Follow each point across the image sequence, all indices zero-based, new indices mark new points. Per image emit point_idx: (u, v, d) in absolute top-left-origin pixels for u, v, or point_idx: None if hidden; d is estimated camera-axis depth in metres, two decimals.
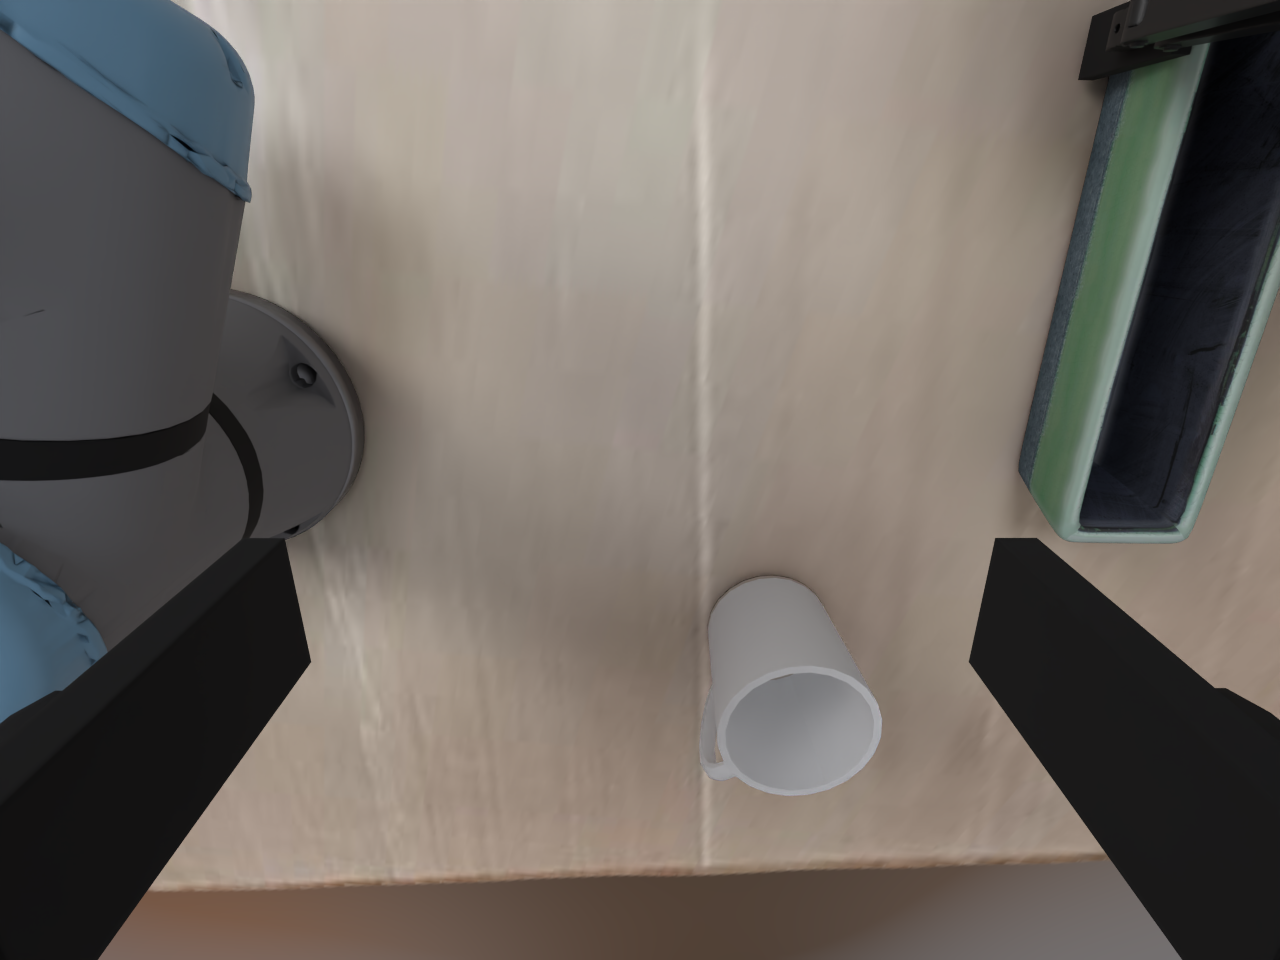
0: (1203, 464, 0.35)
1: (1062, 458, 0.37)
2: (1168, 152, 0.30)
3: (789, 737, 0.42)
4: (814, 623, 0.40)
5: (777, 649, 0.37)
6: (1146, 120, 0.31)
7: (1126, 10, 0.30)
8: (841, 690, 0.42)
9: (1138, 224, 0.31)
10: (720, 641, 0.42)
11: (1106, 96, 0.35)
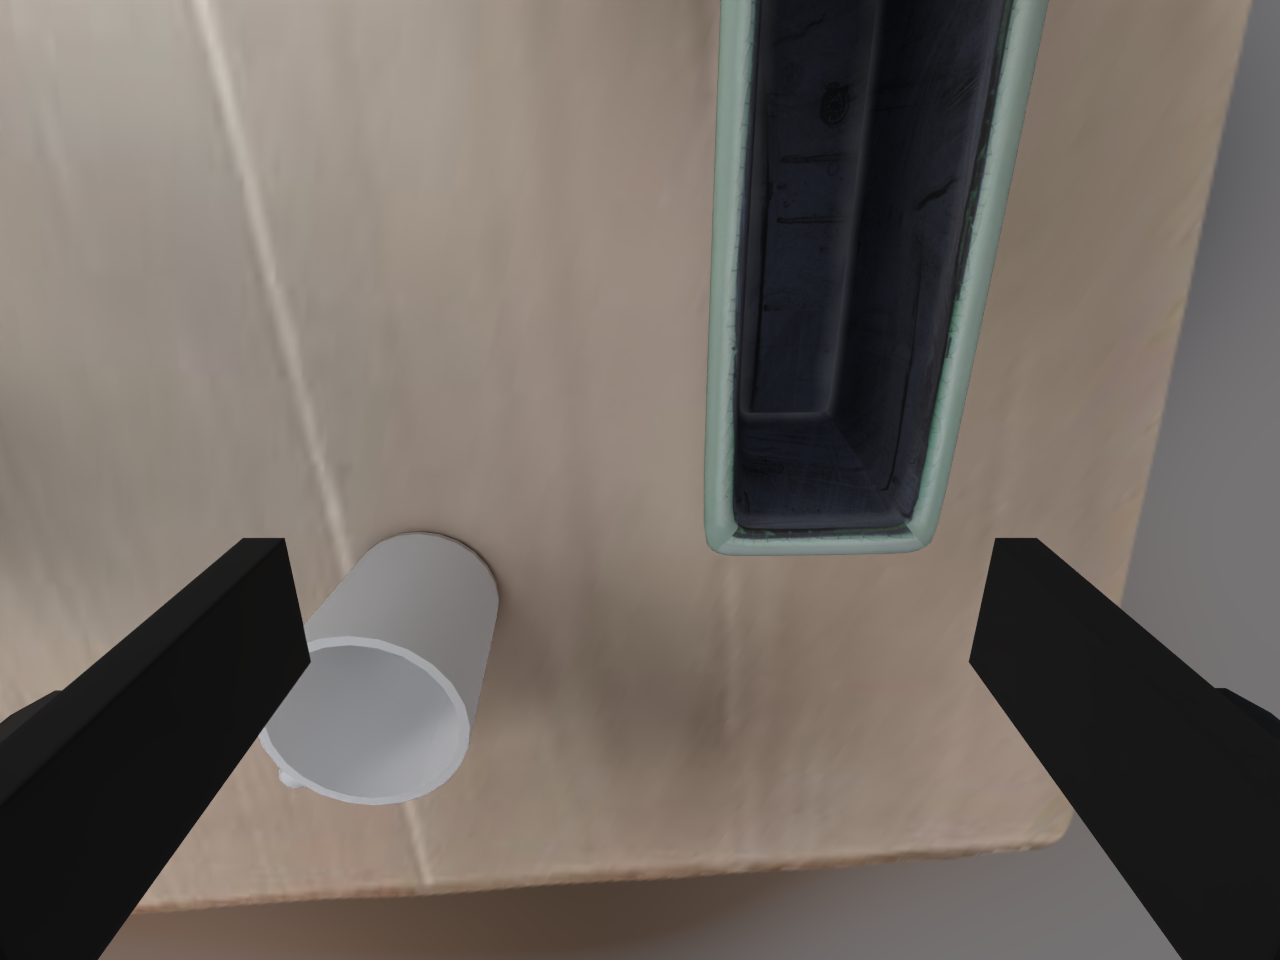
0: (938, 413, 0.19)
1: None
2: None
3: (415, 729, 0.34)
4: (414, 585, 0.32)
5: (330, 618, 0.29)
6: None
7: None
8: None
9: None
10: None
11: None
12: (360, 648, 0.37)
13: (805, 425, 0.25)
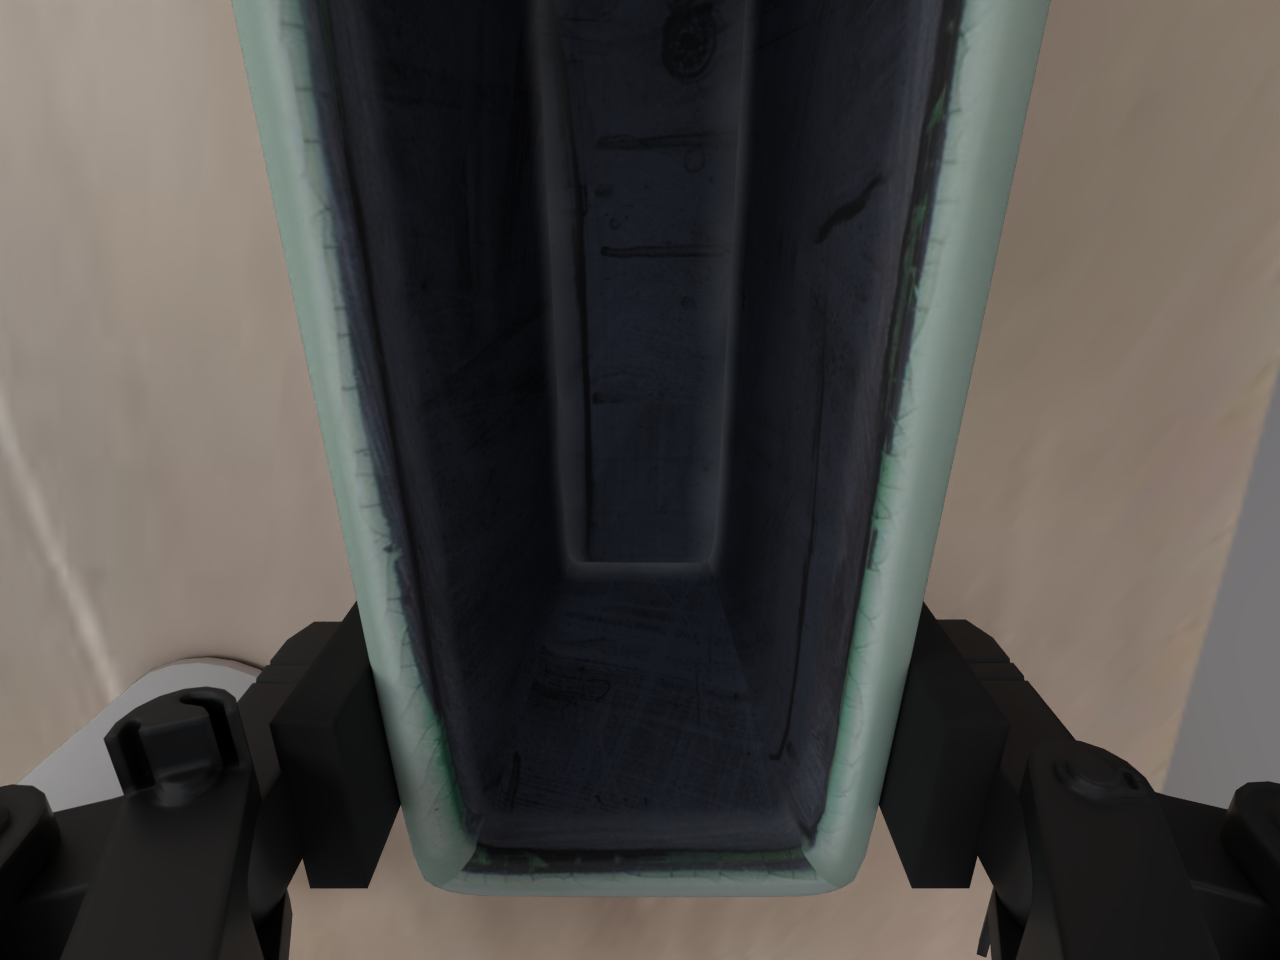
0: (855, 672, 0.09)
1: None
2: None
3: None
4: None
5: None
6: None
7: None
8: None
9: None
10: None
11: None
12: None
13: (672, 589, 0.15)
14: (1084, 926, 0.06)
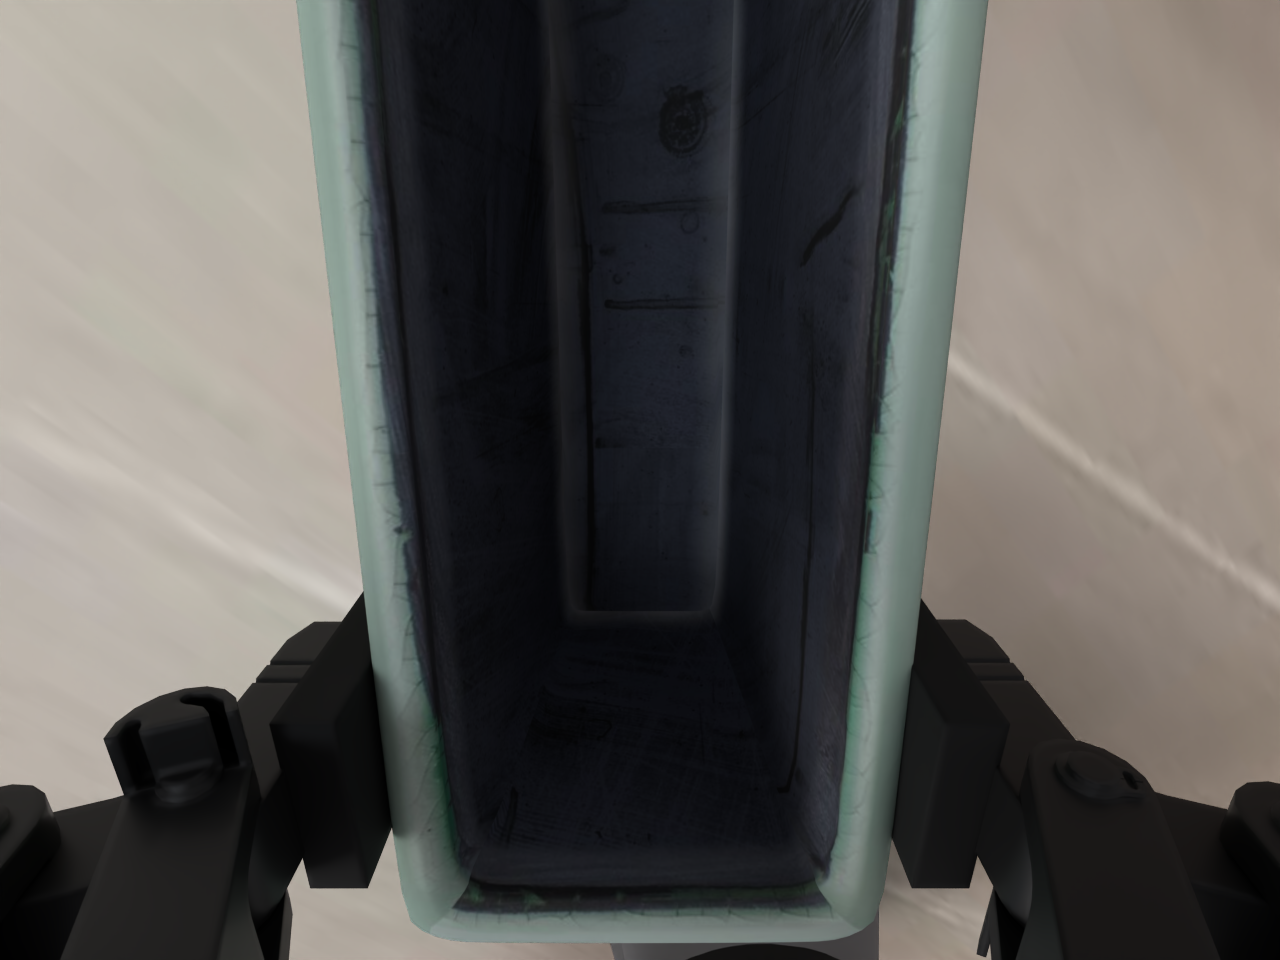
0: (860, 667, 0.09)
1: None
2: None
3: None
4: None
5: None
6: None
7: None
8: None
9: None
10: None
11: None
12: None
13: (674, 635, 0.15)
14: (1084, 926, 0.06)
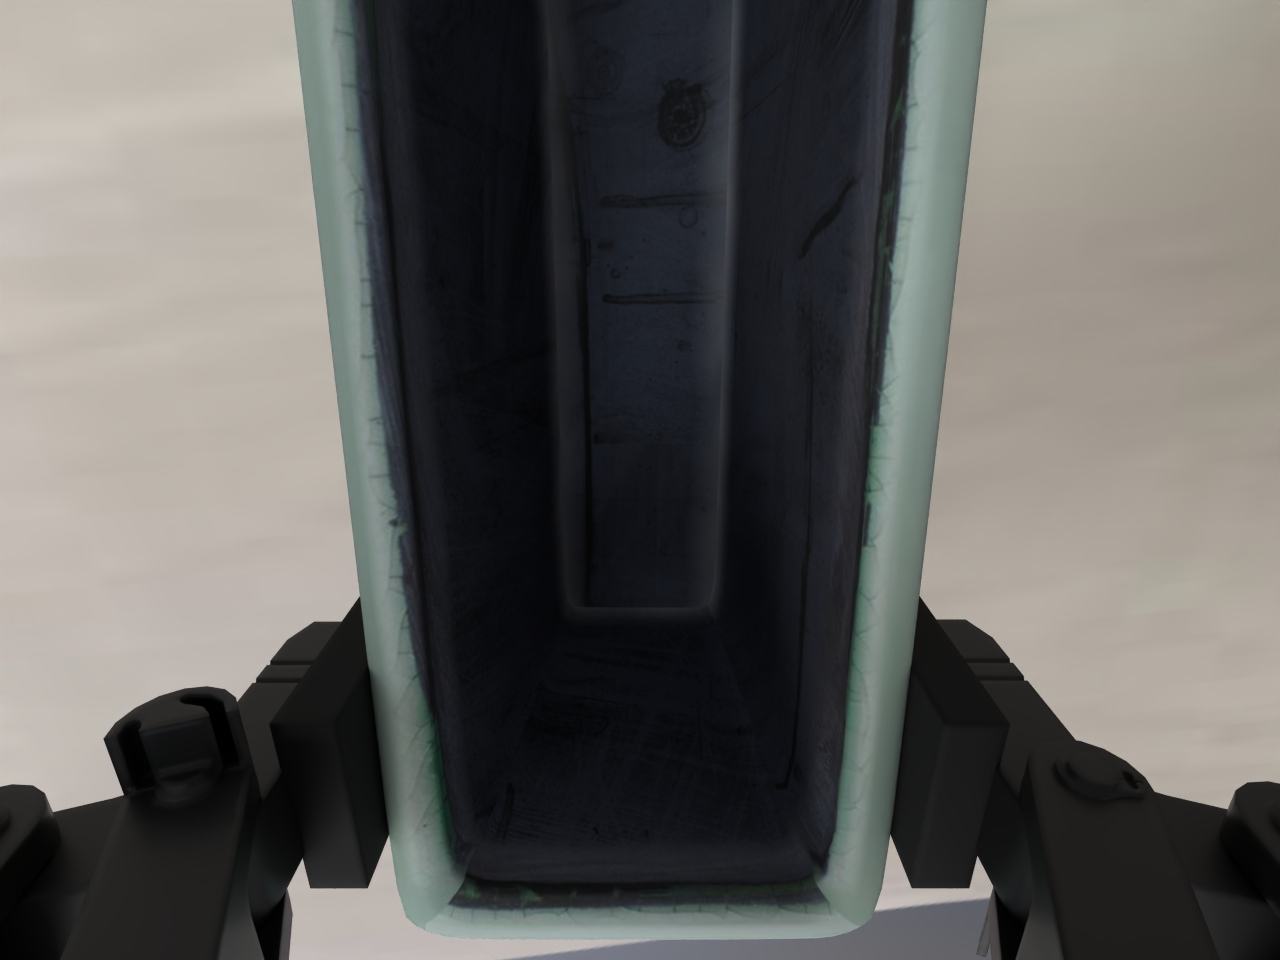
0: (858, 661, 0.09)
1: None
2: None
3: None
4: None
5: None
6: None
7: None
8: None
9: None
10: None
11: None
12: None
13: (672, 632, 0.15)
14: (1084, 925, 0.06)
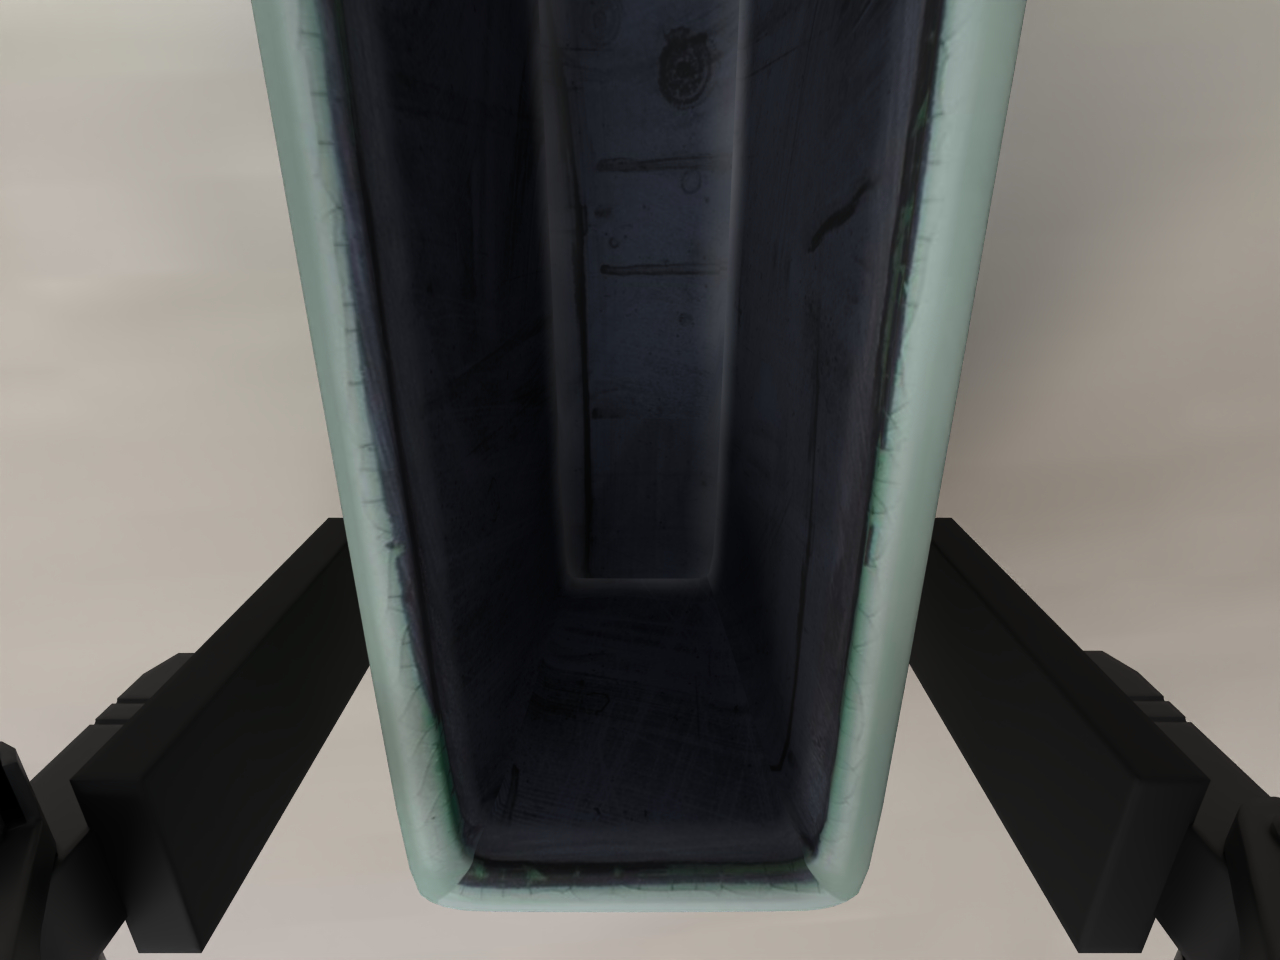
0: (855, 672, 0.09)
1: None
2: None
3: None
4: None
5: None
6: None
7: None
8: None
9: None
10: None
11: None
12: None
13: (671, 604, 0.15)
14: None
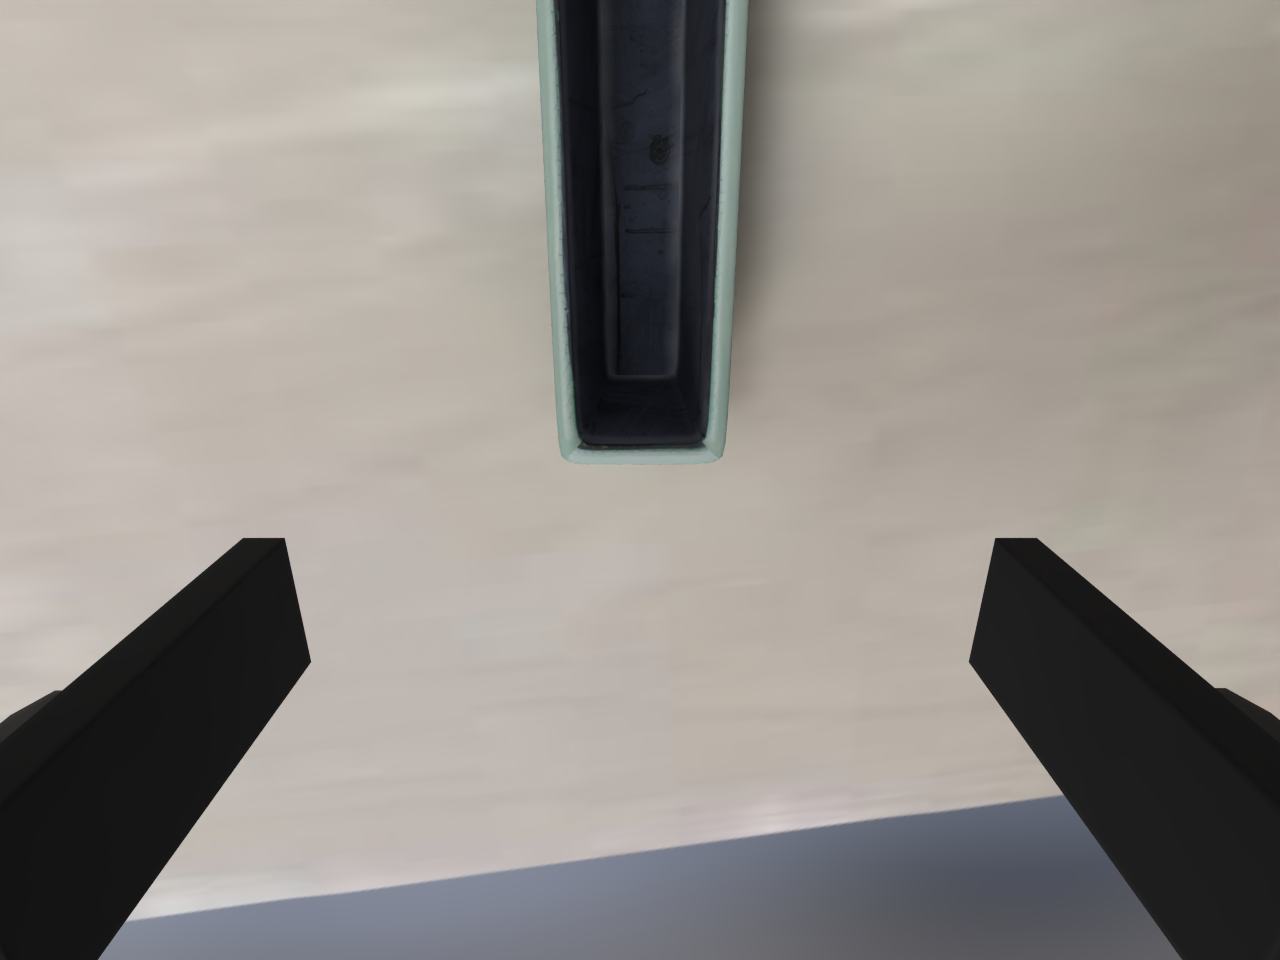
0: (713, 357, 0.28)
1: None
2: None
3: None
4: None
5: None
6: None
7: None
8: None
9: None
10: None
11: None
12: None
13: (656, 384, 0.34)
14: None
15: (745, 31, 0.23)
